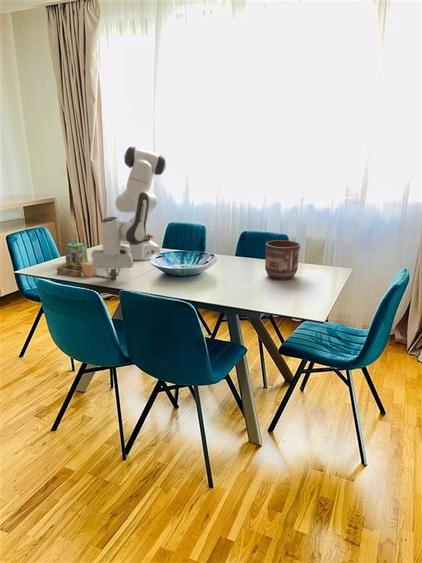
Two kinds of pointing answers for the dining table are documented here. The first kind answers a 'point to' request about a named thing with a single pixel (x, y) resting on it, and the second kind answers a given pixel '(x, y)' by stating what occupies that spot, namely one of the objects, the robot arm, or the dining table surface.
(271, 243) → the pottery
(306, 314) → the dining table surface
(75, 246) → the chalk box
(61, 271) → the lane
